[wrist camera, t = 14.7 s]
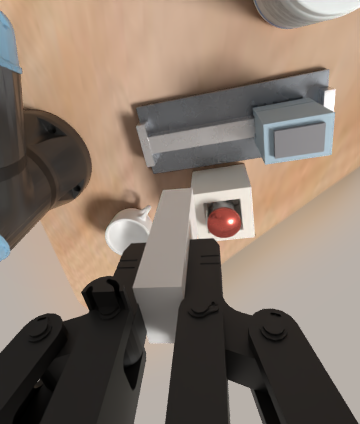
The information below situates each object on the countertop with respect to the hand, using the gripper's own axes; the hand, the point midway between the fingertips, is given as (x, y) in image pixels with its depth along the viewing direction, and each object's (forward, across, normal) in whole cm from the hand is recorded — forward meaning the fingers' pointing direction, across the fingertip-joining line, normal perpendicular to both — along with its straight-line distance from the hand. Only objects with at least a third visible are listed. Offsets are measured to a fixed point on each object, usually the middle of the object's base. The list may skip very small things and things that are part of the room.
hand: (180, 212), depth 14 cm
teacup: (+29, -12, -17) cm, 36 cm away
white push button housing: (+28, +2, -13) cm, 32 cm away
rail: (+28, +4, -3) cm, 29 cm away
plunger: (+26, +2, -13) cm, 29 cm away
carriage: (+27, +11, -3) cm, 29 cm away
